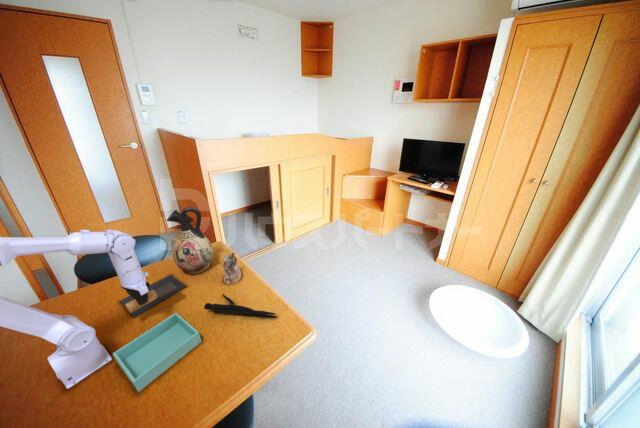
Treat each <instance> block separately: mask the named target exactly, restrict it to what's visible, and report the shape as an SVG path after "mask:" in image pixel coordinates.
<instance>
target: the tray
mask: <svg viewBox="0 0 640 428" xmlns="http://www.w3.org/2000/svg"><path fill="white" fill-rule="evenodd" d="M169 282H171V283H173V284H174V285H175V286H176V287H177V288H178V289H177V290H175V291H173V292H171V293H170V294H168V295H166V296H165V297H163V298H161V299H159V298H157V299H155V300H153V301H151V302H150V303H148V304H146V305H144V306H143V307H141V308H139V309H137V310H135V311H134V312H132V313H130V314H131V315H132V316H133V317H134V318H137V316H139V315H142V314H143V313H144V312H146V311H148V310H149V309H151V308H153V307H155V306H157V305H158V304H160V303H162V302H163V301H165V300H167V299H169V298H170V297H171V296H174V295H175V294H176V293H179V292H180V291H182V290H184V289H185V288H186V287H187V286H186V285H185V284H184V283H182V282H181V281H180V280H178V279H177V278H176V277H174V276H173V275H171V274H170V275H167V276H165V277H163V278H162V279H160V280H158V281H156V282H154V283H152V284H150V287H149V289H148V291H151V290H154V291H155V290H156V289H158V288H160V287H162V286H164V285H166V284H167V283H169ZM132 300H134V298H133V297H132V296H130V295H128V296H127V297H125V298H124V299H121V300H120V303H121V305H122V306H123V307H124V308H125V309H126V310H127V308H126V306H125V304H126V303H128V302H130V301H132Z"/></svg>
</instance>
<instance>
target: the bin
mask: <svg viewBox="0 0 640 428" xmlns="http://www.w3.org/2000/svg"><path fill="white" fill-rule="evenodd" d="M201 342H202V338H201V335H200V332H199V331H198V330H197V329H196V328H194V327H193V325H191V324H190V323H189V322H188V321H186V319H184V318H183V317H182V316H180V314H178V312H174V313H172V314H171V315H169V316H168V317H167V318H165V319H163V320H162V321H161V322H159V323H157V324H156V325H154V326H152V327H151V328H150V329H148V330H146V331H145V332H144V333H142V334H140V335H139V336H138V337H136V338H134V339H133V340H131V341H129V342H128V343H127V344H125V345H123V346H121V347H120V348H119V349H117V350H116V351H114V352H112V355H113V357H114V359H115V361H116V363H117V365H118V366H119V367H120V369H121V370H122V371H123V373H124V375H126V377H127V378H128V380H129V381H130V383H131V384H132V385H133V387H134V388H135V390H136V391H137V392H138V393H139V392H141V391H142V390H143V389H144V388H145V387H146V386H148V385H149V384H151V383H152V382H153V381H154V380H155V379H157V378H158V377H159V376H161V375H162V374H163V373H164V372H166V371H167V370H168V369H170V367H172V366H173V365H174V364H176V362H178V361H179V360H180V359H182V358H183V357H184V356H186V355H187V354H188V353H189V352H190V351H191V350H193V349H194V348H195V347H197V346H198V345H199V344H200V343H201Z"/></svg>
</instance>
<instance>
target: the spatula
mask: <svg viewBox="0 0 640 428" xmlns="http://www.w3.org/2000/svg"><path fill="white" fill-rule="evenodd" d="M177 289H178V288H177V287H176V286H175V285H174V284H173V283H171V282H169V283H167V284H166V285H164V286H162V287H160V288H158V289H156V290H155V291H154V290H151V291H149V292H148V302H147V303H145V304H143V305H140V304H139V303H138V302H137V301H136V299H134V300H132V301H130V302H128V303H126V304H125V306H126V308H127V309H126V308H125V309H126V310H127V311H128V312H129V313H130V314H131V313H132V312H134V311H135V310H137V309H139V308H141V307H143V306H144V305H146V304H148V303H150V302H151V301H153V300H155V299H157V298H159V299H161V298H163V297H165V296H166V295H168V294H170V293H171V292H173V291H175V290H177Z"/></svg>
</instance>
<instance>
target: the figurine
mask: <svg viewBox="0 0 640 428" xmlns="http://www.w3.org/2000/svg"><path fill="white" fill-rule="evenodd" d="M222 260H223V264H222V266H221V267H222V268H223V277H222V278H223V282H224V283H225V284H227V285H234V284H237V283H238V282H239V281H240V280H241V279H242V272H241V267H240V266H239V264H238V259H237V257H236V256H235V252H232V253H231V254H228V253H227V254H226V255H225V256H224V257H222Z"/></svg>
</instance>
